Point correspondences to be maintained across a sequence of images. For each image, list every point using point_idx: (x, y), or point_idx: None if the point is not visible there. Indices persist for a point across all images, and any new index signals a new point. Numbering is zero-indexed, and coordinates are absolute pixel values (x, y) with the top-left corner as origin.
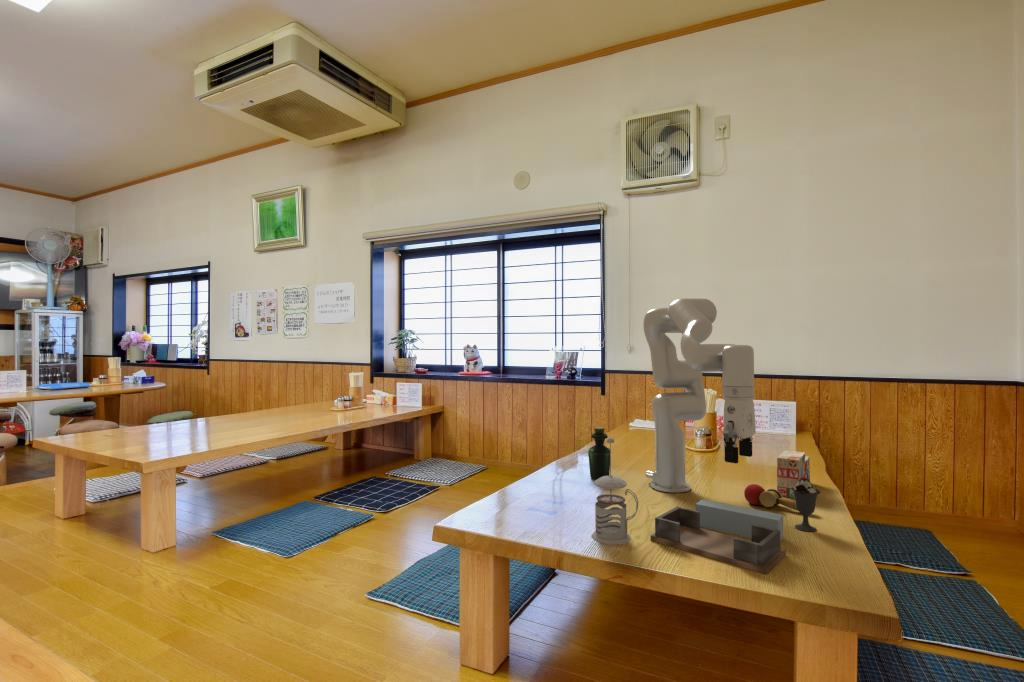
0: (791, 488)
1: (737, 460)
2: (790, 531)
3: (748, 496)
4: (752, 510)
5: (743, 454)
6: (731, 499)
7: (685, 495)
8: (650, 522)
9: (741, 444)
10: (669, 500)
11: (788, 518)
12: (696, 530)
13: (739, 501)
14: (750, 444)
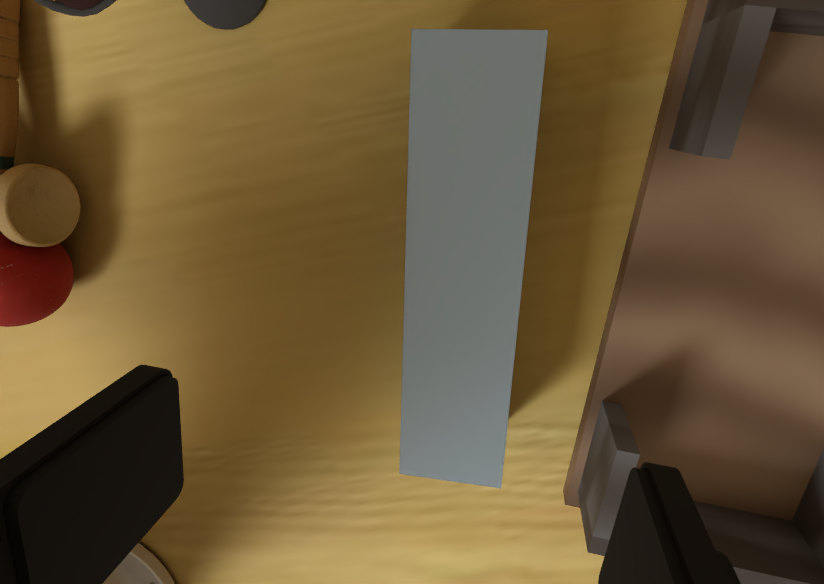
0: (82, 13)
1: (683, 489)
2: (316, 34)
3: (59, 296)
4: (435, 211)
5: (175, 458)
6: (69, 360)
7: (157, 523)
8: (574, 575)
9: (81, 577)
10: (261, 562)
11: (136, 84)
12: (635, 409)
13: (69, 326)
14: (49, 476)
